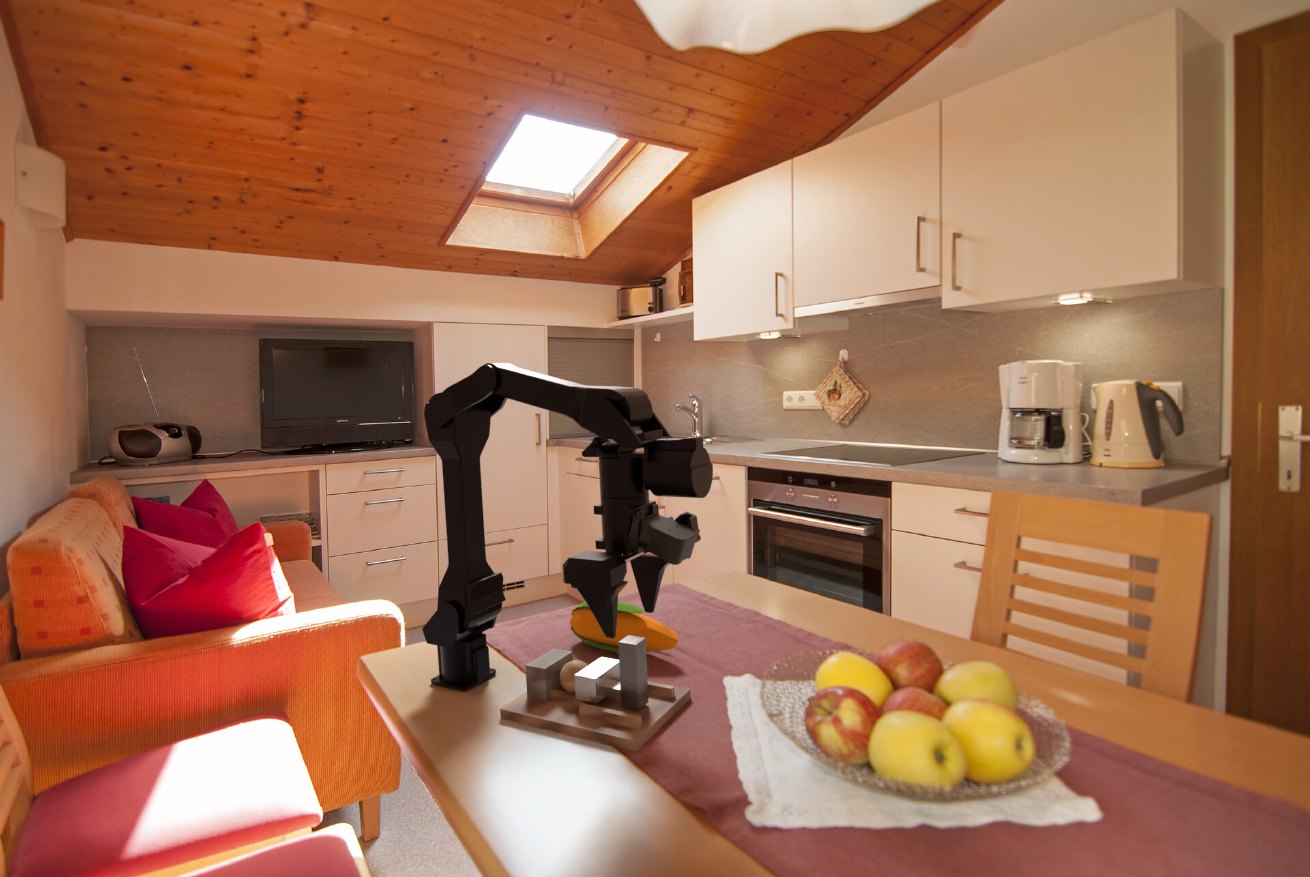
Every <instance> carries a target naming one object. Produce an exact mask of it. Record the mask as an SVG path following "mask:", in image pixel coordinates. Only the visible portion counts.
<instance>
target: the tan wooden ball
mask: <svg viewBox="0 0 1310 877" xmlns="http://www.w3.org/2000/svg"><path fill="white" fill-rule="evenodd" d="M588 665H589V664H587V663H586V662H584V661H582V660H579V659H573V661H570V662H568V663H566V664H565V665H564V666H563V668H562V670H561V672H560V683H561V685H562V687H563V688H564V689H565V690H566V691H567V692H570V693H575V674H576V673H578V672H579V671H581V670H582V669H584V668H585V667H587V666H588Z"/></svg>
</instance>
